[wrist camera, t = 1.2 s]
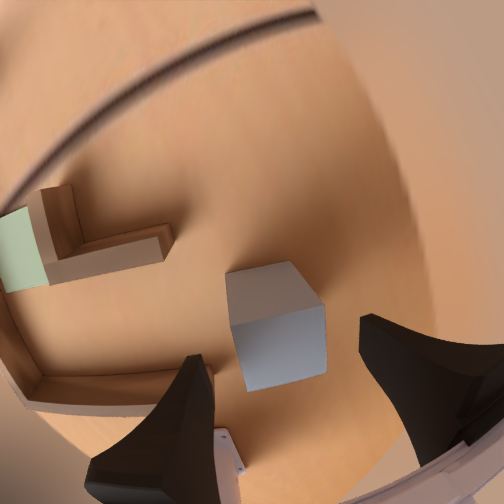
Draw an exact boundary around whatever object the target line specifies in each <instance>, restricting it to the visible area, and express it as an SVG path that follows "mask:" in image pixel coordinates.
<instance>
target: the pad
mask: <svg viewBox="0 0 504 504" xmlns="http://www.w3.org/2000/svg"><path fill="white" fill-rule="evenodd" d="M0 278H1V280H2V283H3V286H4V289H5V291H6V293H10V292H14V291H19V290H23V289H27V288H32V287H36V286H41V285H45V284H49V281H48V279H47V276H46V273H45V270H44V267H43V264H42V261H41V258H40V254H39V251H38V248H37V244H36V241H35V237H34V233H33V229H32V225H31V221H30V217H29V213H28V208H27V206H26V207H23V208H21V209H19V210H17V211H14V212H12V213H10V214H8V215H6V216H4V217H2V218H0Z"/></svg>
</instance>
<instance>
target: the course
mask: <svg viewBox="0 0 504 504" xmlns="http://www.w3.org/2000/svg"><path fill="white" fill-rule="evenodd" d="M25 198H26V203H27V208H28V213H29V217H30V221H31V225H32V229H33V233H34V237H35V241H36V244H37V248H38V251H39V254H40V258H41V261H42V264H43V267H44V270H45V273H46V276H47V279H48V281H49V284H50V286H51V285H55V284H60V283H64V282H69V281H74V280H78V279H83V278H88V277H92V276H97V275H102V274H106V273H111V272H116V271H121V270H125V269H130V268H135V267H140V266H144V265H149V264H154V263H159V262H164V260H165V259H166V257H167V255H168V253H169V251H170V250H171V248H172V246H173V244H174V238H173V234H172V230H171V226H170V223H166V224H161V225H157V226H153V227H148V228H144V229H140V230H136V231H132V232H127V233H123V234H119V235H115V236H111V237H107V238H104V239H100V240H96V241H92V242H88V243H85V242H84V238H83V235H82V231H81V227H80V223H79V219H78V215H77V211H76V206H75V202H74V197H73V192H72V187H71V185H64V186H58V187H51V188H46V189H40V190H38V191H36V192H33V193H31V194H29V195H27V196H25ZM205 367H206V370H207V373H208V375H209V378H210V381H211V383H212V386H213V394H214V404H215V390H214V374H213V371H212V368H211V366H210V364H207V365H205ZM179 370H180V369H172V370H164V371H155V372H145V373H133V374H120V375H103V376H43V375H42V374H41V372H40V370H39V369H38V367H37V365H36V364H35V362H34V360H33V358H32V357H31V355H30V353H29V351H28V349H27V347H26V345H25V344H24V342H23V340H22V338H21V336H20V334H19V332H18V330H17V328H16V325H15V323H14V321H13V319H12V317H11V314H10V312H9V310H8V308H7V305H6V303H5V300H4V298H3V295H2V293H1V290H0V371H1V372H2V374H3V375H4V377H5V379H6V380H7V382H8V383H9V385H10V386H11V388H12V389H13V391H14V392H15V394H16V395H17V396H18V398H19V399H20V401H21V402H22V403H23V405H24V406H25V407H26V408H27V409H28V410H34V411H41V412H48V413H57V414H67V415H79V416H98V417H145V416H148V415H149V414H150V412H151V411H152V410H153V409H154V408H155V406H156V405H157V404H158V402H159V401H160V400H161V398H162V397H163V395H164V394H165V392H166V391H167V389H168V388H169V386H170V385H171V383H172V381H173V380H174V378H175V377H176V375H177V373H178V371H179Z"/></svg>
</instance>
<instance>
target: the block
mask: <svg viewBox="0 0 504 504" xmlns="http://www.w3.org/2000/svg"><path fill="white" fill-rule="evenodd" d="M225 280H226V290H227V301H228V311H229V320H230V328H231V332H232V335H233V339H234V343H235V347H236V351H237V355H238V359H239V362H240V366H241V370H242V374H243V377H244V381H245V385H246V388H247V392H250V391H255V390H260V389H265V388H270V387H274V386H278V385H283V384H287V383H291V382H295V381H299V380H303V379H306V378H310V377H314V376H317V375H321V374H324V373H327V349H326V324H325V305H324V303H323V302H322V301H321V299H320V298H319V297H318V296H317V294H316V293H315V292H314V290H313V289H312V288H311V287H310V285H309V284H308V283H307V282H306V280H305V279H304V278H303V276H302V275H301V274H300V273H299V271H298V270H297V269H296V268H295V266H294V265H293V264H292V263H291V261H290V260H289V261H284V262H279V263H275V264H270V265H265V266H260V267H255V268H250V269H245V270H241V271H236V272H231V273H226V274H225Z"/></svg>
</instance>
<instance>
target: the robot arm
mask: <svg viewBox="0 0 504 504" xmlns="http://www.w3.org/2000/svg"><path fill="white" fill-rule="evenodd" d="M359 353H360V355H361V357H362V359H363V361H364V363H365V365H366V367H367V368H368V370H369V371H370V373H371V374H372V375H373V377H374V378H375V380H376V381H377V382H378V384H379V385H380V386H381V388H382V389H383V391H384V392H385V393H386V395H387V396H388V397H389V399H390V400H391V402H392V404H393V405H394V407H395V409H396V411H397V412H398V414H399V416H400V418H401V420H402V422H403V424H404V426H405V429H406V431H407V433H408V435H409V437H410V440H411V442H412V445H413V447H414V449H415V452H416V455H417V458H418V461H419V464H420V467H421V468H419V469H418V470H416V471H414V472H412V473H410V474H408V475H406V476H404V477H402V478H401V479H399V480H396V481H394V482H392V483H390V484H388V485H386V486H384V487H381V488H379V489H377V490H374V491H372V492H370V493H367V494H365V495H362V496H360V497H357V498H354V499H351V500H349V501H346V502H343V503H340V504H477V503H476V501H475V500H474V498H473V497H472V496H473V495H474V494H475V493H477V492H478V491H479V490H480V489H481V488H483V487H484V486H485V485H486V484H487V483H489V482H490V481H491V480H492V479H493V478H494V477H495V476H496V475H497V474H498V473H500V472H501V471H502V470H503V469H504V344H495V345H473V344H463V343H456V342H450V341H445V340H441V339H437V338H433V337H430V336H427V335H424V334H421V333H418V332H415V331H413V330H410V329H407V328H405V327H403V326H400V325H398V324H396V323H393V322H391V321H389V320H387V319H384V318H382V317H380V316H377V315H375V314H372V313H371V314H368V315H365V316H362V317H360V333H359ZM214 413H215V404H214V394H213V386H212V383H211V381H210V378H209V375H208V373H207V370H206V367H205V364H204V361H203V359H202V356H201V354H198V355H191V356H187V357H186V359H185V361H184V362H183V364H182V366H181V368H180V370H179V371H178V373H177V375H176V377H175V378H174V380H173V381H172V383H171V385H170V386H169V388H168V389H167V391H166V392H165V394H164V395H163V397H162V398H161V400H160V401H159V402H158V404H157V405H156V406H155V408H154V409H153V410H152V411H151V412H150V414H149V415H148V416H147V417H146V418H145V419H144V420H143V421H142V422H141V423H140V424H139V425H138V426H137V427H136V428H135V429H134V430H133V431H131V432H130V433H129V434H128V435H127V436H125V437H124V438H123V439H122V440H120V441H119V442H118V443H116V444H115V445H113V446H112V447H110V448H109V449H107V450H106V451H104V452H102V453H100V454H99V455H97V456H95V457H93V458H92V459H91V462H90V465H89V468H88V472H87V475H86V479H85V483H84V487H85V489H86V490H87V492H88V493H89V494H91V495H92V496H93V497H94V498H96V499H97V500H98V501H100V502H101V503H103V504H241V497H240V489H239V482H238V475H239V474H245V473H246V468H245V466H244V464H243V462H242V460H241V458H240V456H239V454H238V451H237V449H236V447H235V445H234V443H233V440H232V438H231V436H230V433H229V431H228V430H227V429H225V428H219V429H214Z"/></svg>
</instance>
